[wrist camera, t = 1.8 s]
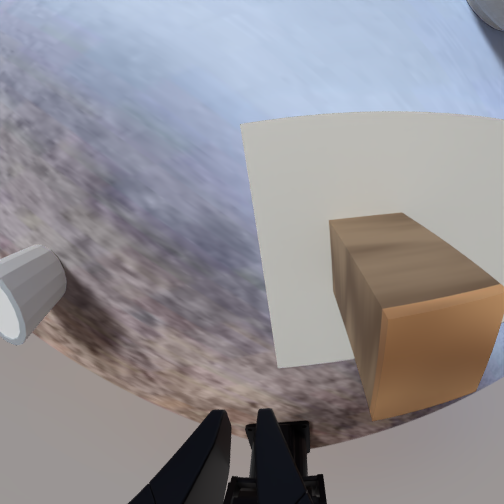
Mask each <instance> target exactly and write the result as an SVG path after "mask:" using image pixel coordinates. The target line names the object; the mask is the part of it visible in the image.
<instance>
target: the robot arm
mask: <svg viewBox="0 0 504 504" xmlns="http://www.w3.org/2000/svg"><path fill="white" fill-rule="evenodd" d="M245 431H246V434H247V437H248V440H249V443H250V446H251V449H252V456H251V465H250V475H249V478H243V477H238V476H237V477H236V476H232V478H231V482H229V483H228V488H227V492H226V495H225V490H226V485H227V480H228V475H229V467H230V465H229V464H230V449H231V448H230V447H231V423H230V421H229V418H228V415H227V412H226V411H225V410H212V411H211V412H210V413H209V414H208V416H207V417H206V418H205V419H204V420H203V422H202V423H201V424H200V425H199V427H198V428H197V429H196V430H195V431H194V432H193V434H192V435H191V436H190V437H189V438H188V439H187V441H186V442H185V443H184V444H183V445H182V446H181V448H180V449H179V450H178V451H177V452H176V453H175V454H174V456H173V457H172V458H171V459H170V460H169V461H168V462H167V464H166V465H165V466H164V467H163V468H162V469H161V470H160V471H159V472H158V473H157V475H156V476H155V477H154V478H153V479H152V480H151V481H150V482H149V484H147V485H146V486H145V487H144V488H143V489H142V490H141V492H139V493H138V494H137V496H135V497H134V498H133V499H132V500H131V501H130V502H129V503H128V504H327V502H326V494H325V487H324V479H323V474H318V475H316V476H308V472H307V453H309V452H310V433H309V422H308V421H299V422H287V423H278V422H277V420H276V417H275V415H274V412H273V410H272V409H271V408H265V409H259V410H258V416H257V423H256V424H249V425H246V428H245ZM224 495H225V499H224ZM223 500H224V502H223Z"/></svg>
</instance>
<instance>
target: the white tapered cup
mask: <svg viewBox="0 0 504 504" xmlns="http://www.w3.org/2000/svg"><path fill="white" fill-rule="evenodd" d="M66 284H67V280H66V276H65V271H64V269H63V267H62V265H61V263H60V261H59V259H58V258H57V256H56V255H55V254H54V253H53V252H52V251H51V250H50V249H49V248H47V247H45V246H44V245H33V246H30V247H28V248H26V249H23V250H21V251H18V252H16V253H14V254H11V255H9V256H7V257H4V258H2V259H0V336H1V337H2V338H3V339H4V340H6V341H7V342H9V343H11V344H14V345H20V344H23V343H24V342H25V340H26V339H27V338H28V337H29V336H30V334H31V333H32V332H33V331H34V329H35V328H36V327H37V326H38V325H39V323H40V322H41V321H42V320H43V319H44V317H45V316H46V315H47V314H48V313H49V311H50V310H51V309H52V308H53V307H54V306H55V305H56V303H57V302H58V301H59V300H60V299H61V298H62V296H63V295H64V293H65V292H66Z"/></svg>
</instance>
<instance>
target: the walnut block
mask: <svg viewBox="0 0 504 504" xmlns="http://www.w3.org/2000/svg"><path fill="white" fill-rule="evenodd" d="M329 230H330V244H331V260H332V280H333V293H334V296H335V299H336V302H337V305H338V308H339V311H340V314H341V317H342V320H343V323H344V326H345V329H346V332H347V335H348V338H349V342H350V345H351V348H352V351H353V354H354V358H355V361H356V364H357V368H358V371H359V375H360V378H361V381H362V385H363V388H364V392H365V396H366V399H367V403H368V407H369V410H370V414H371V418H372V421H377V420H381V419H386V418H390V417H395V416H399V415H403V414H407V413H411V412H414V411H418V410H422V409H425V408H429V407H432V406H435V405H438V404H442V403H445V402H448V401H451V400H454V399H457V398H459V397H462V396H465V395H468V394H470V393H473V392H476V390H477V387H478V385H479V383H480V380H481V378H482V376H483V373H484V371H485V368H486V366H487V363H488V361H489V358H490V355H491V353H492V350H493V347H494V344H495V341H496V338H497V335H498V332H499V329H500V325H501V322H502V319H503V315H504V286H503V285H502V284H500V283H499V282H498V281H497V280H496V279H494V278H493V277H492V276H491V275H489V274H488V273H487V272H486V271H484V270H483V269H482V268H480V267H479V266H478V265H477V264H475V263H474V262H473V261H471V260H470V259H469V258H467V257H466V256H465V255H463V254H462V253H461V252H459V251H458V250H457V249H455V248H454V247H452V246H451V245H450V244H448V243H447V242H445V241H444V240H443V239H441V238H440V237H438V236H437V235H435V234H434V233H432V232H431V231H430V230H428V229H427V228H425V227H424V226H422V225H421V224H419V223H418V222H416V221H414V220H413V219H411V218H410V217H408V216H407V215H405V214H404V213H402V212H401V213H391V214H381V215H371V216H362V217H353V218H343V219H334V220H329Z"/></svg>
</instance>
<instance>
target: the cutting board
mask: <svg viewBox="0 0 504 504" xmlns="http://www.w3.org/2000/svg"><path fill="white" fill-rule="evenodd" d="M240 127H241V133H242V140H243V146H244V152H245V158H246V164H247V170H248V177H249V183H250V189H251V196H252V202H253V208H254V214H255V221H256V227H257V234H258V240H259V246H260V253H261V259H262V266H263V272H264V279H265V285H266V292H267V299H268V305H269V312H270V319H271V325H272V332H273V339H274V345H275V352H276V359H277V366H278V368H286V367H296V366H305V365H314V364H322V363H330V362H337V361H344V360H351V359H355V358H354V354H353V351H352V348H351V345H350V342H349V338H348V335H347V332H346V329H345V326H344V323H343V320H342V317H341V314H340V311H339V308H338V305H337V302H336V299H335V296H334V293H333V280H332V260H331V244H330V230H329V220H334V219H343V218H353V217H362V216H371V215H381V214H391V213H401V212H402V213H404V214H405V215H407V216H408V217H410V218H411V219H413V220H414V221H416V222H418V223H419V224H421V225H422V226H424V227H425V228H427V229H428V230H430V231H431V232H432V233H434V234H435V235H437V236H438V237H440V238H441V239H443V240H444V241H445V242H447V243H448V244H450V245H451V246H452V247H454V248H455V249H457V250H458V251H459V252H461V253H462V254H463V255H465V256H466V257H467V258H469V259H470V260H471V261H473V262H474V263H475V264H477V265H478V266H479V267H480V268H482V269H483V270H484V271H486V272H487V273H488V274H489V275H491V276H492V277H493V278H494V279H496V280H497V281H498V282H499V283H500V284H502V285H503V286H504V120H503V119H496V118H489V117H481V116H472V115H461V114H449V113H433V112H401V111H382V112H349V113H332V114H318V115H307V116H297V117H288V118H280V119H272V120H265V121H258V122H251V123H245V124H240ZM502 322H504V315H503V319H502ZM502 322H501V323H502Z"/></svg>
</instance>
